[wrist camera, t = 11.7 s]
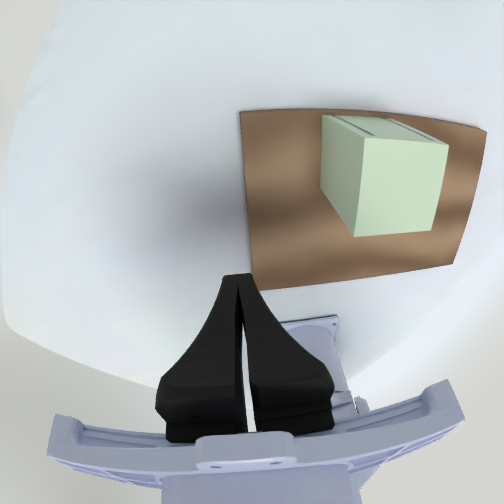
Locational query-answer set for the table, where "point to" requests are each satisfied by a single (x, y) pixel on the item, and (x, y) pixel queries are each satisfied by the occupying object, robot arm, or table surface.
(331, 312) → the table surface
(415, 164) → the green slotted cube
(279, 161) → the board
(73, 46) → the table surface
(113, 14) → the table surface
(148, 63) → the table surface
